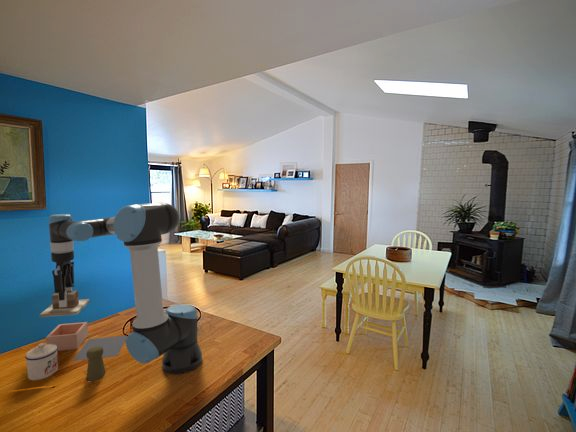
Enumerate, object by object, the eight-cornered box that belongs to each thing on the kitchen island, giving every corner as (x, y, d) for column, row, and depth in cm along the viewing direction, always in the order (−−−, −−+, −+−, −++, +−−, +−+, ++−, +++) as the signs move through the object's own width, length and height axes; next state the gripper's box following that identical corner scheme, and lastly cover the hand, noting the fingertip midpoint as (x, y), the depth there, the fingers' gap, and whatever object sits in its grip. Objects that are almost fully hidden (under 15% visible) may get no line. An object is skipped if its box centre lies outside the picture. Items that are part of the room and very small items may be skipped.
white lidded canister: (49, 380, 104) (47, 350, 103) (20, 382, 102) (17, 352, 101) (68, 360, 116) (66, 332, 114) (42, 361, 114) (40, 334, 113)
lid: (77, 314, 120) (75, 297, 119) (39, 317, 117) (38, 300, 116) (89, 301, 132) (88, 286, 131) (56, 303, 129) (55, 288, 128)
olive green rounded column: (109, 372, 109) (108, 345, 108) (94, 383, 103) (92, 354, 102) (98, 369, 111) (96, 342, 110) (82, 379, 105) (80, 350, 104)
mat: (117, 356, 119) (117, 355, 119) (72, 361, 115) (72, 360, 115) (128, 336, 134) (128, 335, 134) (88, 340, 130) (88, 339, 130)
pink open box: (77, 350, 123) (76, 334, 122) (46, 353, 120) (45, 337, 119) (88, 336, 133) (87, 322, 132) (60, 339, 130) (59, 324, 129)
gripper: (62, 246, 128) (65, 297, 131) (40, 256, 112) (44, 314, 115) (81, 246, 130) (84, 295, 133) (63, 256, 114) (66, 312, 117)
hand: (66, 304), depth 124 cm, fingers closed on lid, 4 cm apart
